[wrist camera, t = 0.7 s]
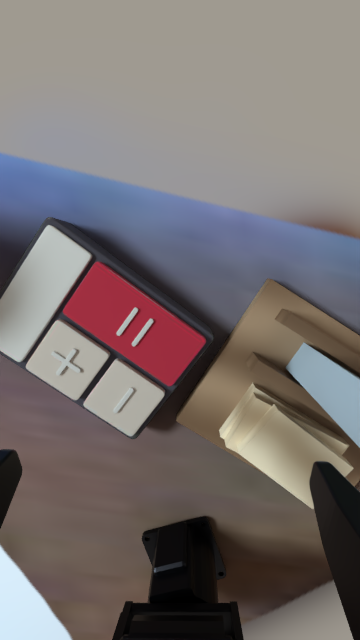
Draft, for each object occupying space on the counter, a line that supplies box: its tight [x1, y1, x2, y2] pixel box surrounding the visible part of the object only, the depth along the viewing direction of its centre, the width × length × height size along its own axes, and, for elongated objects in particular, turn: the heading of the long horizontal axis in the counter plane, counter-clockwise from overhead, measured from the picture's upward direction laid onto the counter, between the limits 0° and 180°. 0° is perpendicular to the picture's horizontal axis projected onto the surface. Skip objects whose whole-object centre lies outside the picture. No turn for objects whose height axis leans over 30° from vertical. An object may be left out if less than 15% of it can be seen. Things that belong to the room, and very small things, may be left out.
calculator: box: [0, 217, 214, 439], centre depth 25 cm, size 11×4×15 cm
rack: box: [176, 279, 360, 486], centre depth 25 cm, size 14×16×4 cm
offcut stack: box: [219, 383, 354, 509], centre depth 24 cm, size 5×9×3 cm, turn 58°
